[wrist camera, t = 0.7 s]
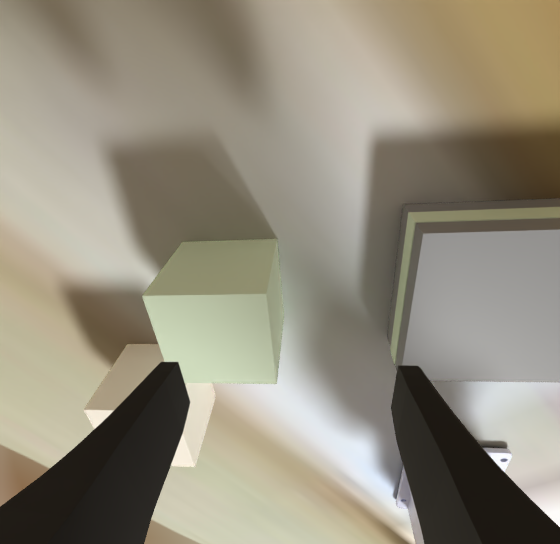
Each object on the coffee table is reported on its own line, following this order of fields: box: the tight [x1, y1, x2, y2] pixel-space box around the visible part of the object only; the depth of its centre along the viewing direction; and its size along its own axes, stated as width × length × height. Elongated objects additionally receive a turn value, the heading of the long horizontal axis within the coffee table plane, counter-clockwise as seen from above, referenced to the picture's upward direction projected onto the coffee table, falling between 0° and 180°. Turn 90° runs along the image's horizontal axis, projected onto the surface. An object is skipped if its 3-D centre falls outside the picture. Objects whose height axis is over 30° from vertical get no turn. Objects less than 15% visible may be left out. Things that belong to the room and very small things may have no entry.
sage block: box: [142, 239, 284, 384], centre depth 19 cm, size 6×6×6 cm
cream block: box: [84, 344, 216, 467], centre depth 23 cm, size 6×6×6 cm
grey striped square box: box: [387, 198, 560, 382], centre depth 18 cm, size 9×9×4 cm
